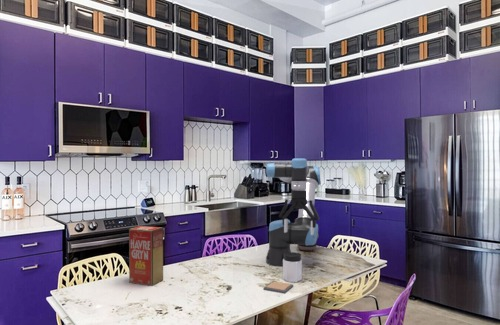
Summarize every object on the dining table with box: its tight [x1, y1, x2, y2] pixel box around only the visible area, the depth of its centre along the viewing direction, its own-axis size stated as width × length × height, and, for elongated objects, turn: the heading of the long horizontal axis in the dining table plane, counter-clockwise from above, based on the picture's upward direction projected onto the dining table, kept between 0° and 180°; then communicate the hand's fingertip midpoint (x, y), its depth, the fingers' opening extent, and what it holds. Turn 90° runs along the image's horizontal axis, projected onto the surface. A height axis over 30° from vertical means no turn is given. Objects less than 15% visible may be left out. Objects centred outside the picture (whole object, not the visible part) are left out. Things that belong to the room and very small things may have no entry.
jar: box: [282, 251, 303, 283], centre depth 170 cm, size 9×8×12 cm
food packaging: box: [128, 225, 164, 287], centre depth 167 cm, size 13×9×25 cm
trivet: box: [263, 281, 294, 294], centre depth 158 cm, size 10×10×1 cm
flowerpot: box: [297, 234, 319, 252], centre depth 228 cm, size 14×15×20 cm
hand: (298, 233), depth 175 cm, fingers open, 13 cm apart
